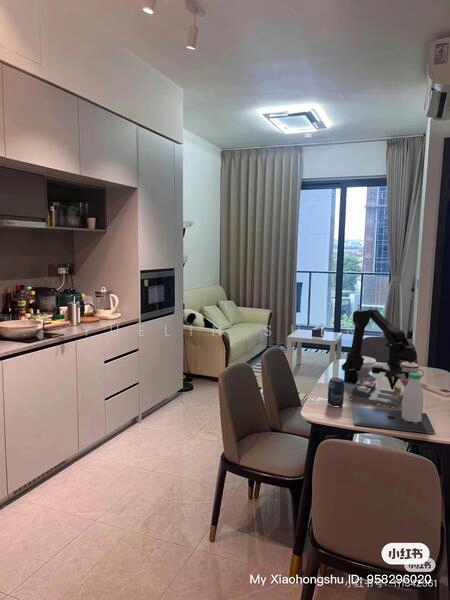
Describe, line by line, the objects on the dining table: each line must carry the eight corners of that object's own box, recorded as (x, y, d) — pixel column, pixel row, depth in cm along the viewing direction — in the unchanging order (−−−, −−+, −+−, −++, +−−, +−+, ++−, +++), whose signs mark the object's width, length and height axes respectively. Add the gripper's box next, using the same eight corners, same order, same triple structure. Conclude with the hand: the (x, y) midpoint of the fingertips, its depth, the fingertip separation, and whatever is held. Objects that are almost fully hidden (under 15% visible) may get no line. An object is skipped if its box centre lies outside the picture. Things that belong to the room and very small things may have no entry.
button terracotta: (361, 388, 214) (361, 383, 213) (362, 386, 218) (363, 381, 217) (370, 390, 212) (370, 385, 211) (371, 387, 215) (372, 382, 215)
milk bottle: (420, 425, 174) (423, 377, 172) (399, 421, 178) (403, 374, 176) (422, 419, 181) (426, 373, 179) (403, 415, 185) (406, 370, 183)
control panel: (349, 399, 203) (349, 390, 203) (358, 388, 220) (359, 379, 220) (396, 408, 193) (397, 398, 192) (402, 395, 210) (403, 386, 210)
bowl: (351, 368, 258) (352, 354, 257) (378, 373, 249) (379, 358, 248) (341, 374, 245) (342, 359, 244) (370, 379, 236) (370, 364, 235)
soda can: (331, 408, 191) (332, 382, 190) (324, 402, 198) (326, 377, 197) (345, 407, 193) (347, 381, 191) (338, 402, 200) (340, 377, 198)
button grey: (355, 392, 204) (356, 387, 204) (358, 390, 208) (358, 385, 208) (365, 394, 202) (365, 389, 202) (367, 391, 206) (367, 386, 205)
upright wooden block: (393, 397, 201) (394, 388, 200) (395, 394, 205) (395, 385, 205) (398, 398, 200) (399, 389, 199) (400, 395, 204) (401, 386, 203)
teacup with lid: (398, 381, 233) (400, 360, 232) (400, 377, 242) (401, 356, 240) (423, 385, 228) (424, 363, 227) (423, 380, 236) (425, 359, 235)
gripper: (370, 357, 199) (368, 390, 201) (414, 364, 190) (411, 398, 191) (375, 353, 208) (373, 384, 210) (417, 359, 199) (414, 391, 201)
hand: (392, 389), depth 203 cm, fingers closed
